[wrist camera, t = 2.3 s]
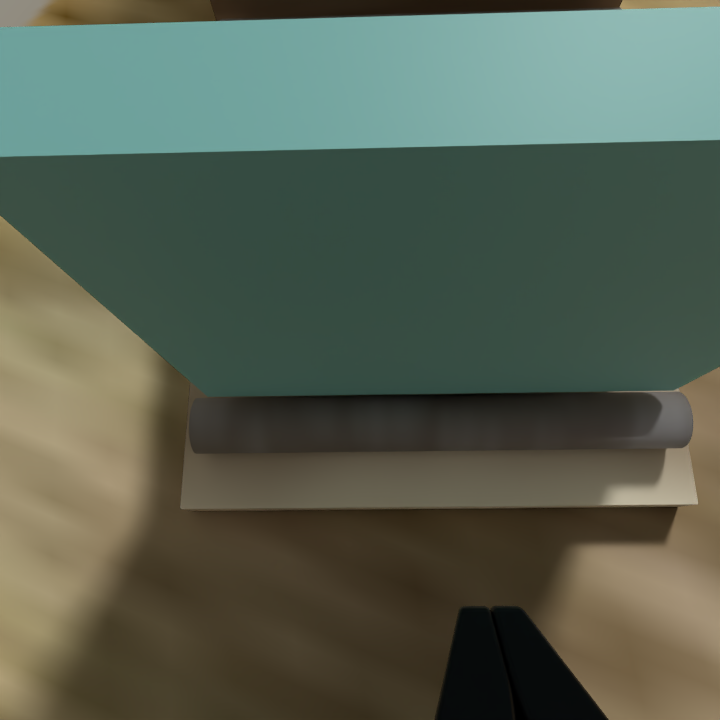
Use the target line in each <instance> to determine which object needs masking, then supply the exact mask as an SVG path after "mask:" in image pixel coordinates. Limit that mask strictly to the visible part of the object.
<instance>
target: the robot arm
mask: <svg viewBox="0 0 720 720" xmlns="http://www.w3.org/2000/svg"><path fill="white" fill-rule="evenodd" d="M435 720H609V719H608V718H607V717H606V716H605V714H604V713H603V712H602V710H601V709H600V708H599V707H598V705H597V704H596V703H595V701H594V700H593V699H592V697H591V696H590V695H589V694H588V692H587V691H586V690H585V688H584V687H583V686H582V685H581V683H580V682H579V681H578V679H577V678H576V677H575V676H574V674H573V673H572V672H571V670H570V669H569V668H568V667H567V665H566V664H565V663H564V661H563V660H562V659H561V658H560V656H559V655H558V654H557V652H556V651H555V650H554V649H553V647H552V646H551V645H550V643H549V642H548V641H547V639H546V638H545V637H544V636H543V634H542V633H541V632H540V630H539V629H538V628H537V627H536V625H535V624H534V623H533V621H532V620H531V619H530V618H529V616H528V615H527V614H526V612H525V611H524V610H523V609H522V608H520V607H518V606H494V607H492V608H491V609H490V610H489V608H488V607H486V606H463V607H461V608H460V609H459V613H458V617H457V621H456V626H455V630H454V635H453V639H452V644H451V648H450V653H449V657H448V662H447V666H446V671H445V675H444V680H443V684H442V689H441V693H440V698H439V702H438V707H437V711H436V716H435Z"/></svg>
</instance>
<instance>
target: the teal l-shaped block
mask: <svg viewBox="0 0 720 720" xmlns="http://www.w3.org/2000/svg"><path fill="white" fill-rule="evenodd" d="M0 216H2V217H3V218H4V219H5V220H6V221H7V222H8V223H10V224H11V225H12V226H13V227H14V228H15V229H16V230H18V231H19V232H20V233H21V234H22V235H23V236H24V237H26V238H27V239H28V240H29V241H30V242H31V243H32V244H34V245H35V246H36V247H37V248H38V249H39V250H40V251H42V252H43V253H44V254H45V255H46V256H47V257H48V258H50V259H51V260H52V261H53V262H54V263H55V264H56V265H58V266H59V267H60V268H61V269H62V270H63V271H64V272H66V273H67V274H68V275H69V276H70V277H71V278H72V279H74V280H75V281H76V282H77V283H78V284H79V285H80V286H82V287H83V288H84V289H85V290H86V291H87V292H88V293H90V294H91V295H92V296H93V297H94V298H95V299H96V300H98V301H99V302H100V303H101V304H102V305H103V306H104V307H106V308H107V309H108V310H109V311H110V312H111V313H113V314H114V315H115V316H116V317H117V318H118V319H119V320H121V321H122V322H123V323H124V324H125V325H126V326H127V327H129V328H130V329H131V330H132V331H133V332H134V333H135V334H137V335H138V336H139V337H140V338H141V339H142V340H143V341H145V342H146V343H147V344H148V345H149V346H150V347H151V348H153V349H154V350H155V351H156V352H157V353H158V354H159V355H161V356H162V357H163V358H164V359H165V360H166V361H167V362H169V363H170V364H171V365H172V366H173V367H174V368H175V369H177V370H178V371H179V372H180V373H181V374H182V375H183V376H185V377H186V378H187V379H188V380H189V381H190V382H191V383H193V384H194V385H195V386H196V387H197V388H198V389H199V390H201V391H202V392H203V393H204V394H205V395H206V396H207V397H235V396H309V395H383V394H457V393H531V392H605V391H674V390H676V389H678V388H679V387H681V386H683V385H685V384H687V383H689V382H691V381H693V380H695V379H697V378H699V377H700V376H702V375H704V374H706V373H708V372H710V371H712V370H714V369H716V368H718V367H720V7H691V8H657V9H622V10H587V11H552V12H518V13H483V14H448V15H413V16H379V17H344V18H309V19H274V20H240V21H205V22H170V23H135V24H101V25H66V26H31V27H0Z"/></svg>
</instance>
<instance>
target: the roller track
mask: <svg viewBox="0 0 720 720" xmlns="http://www.w3.org/2000/svg"><path fill="white" fill-rule="evenodd" d="M210 1H211V4H212V8H213V11H214V14H215V17H216V21H240V20H274V19H309V18H344V17H379V16H413V15H448V14H483V13H518V12H552V11H587V10H622V9H621V8H619V7H620V4H621V2H622V0H210ZM692 432H693V415H692V410H691V406H690V404H689V402H688V400H687V398H686V397H685V395H684V394H682V393H681V392H679V388H678V389H676V390H674V391H605V392H531V393H457V394H383V395H309V396H235V397H207V396H206V395H205V394H204V393H203V392H202V391H201V390H199V389H198V388H197V387H196V386H195V385H194V384H193V383H191V382H190V389H189V402H188V414H187V427H186V440H185V453H184V465H183V478H182V491H181V504H180V509H183V510H189V511H250V510H363V509H476V508H588V507H681V506H688V505H696V504H698V500H697V494H696V488H695V482H694V476H693V470H692V464H691V458H690V452H689V446H688V443H689V441H690V439H691V436H692Z"/></svg>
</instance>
